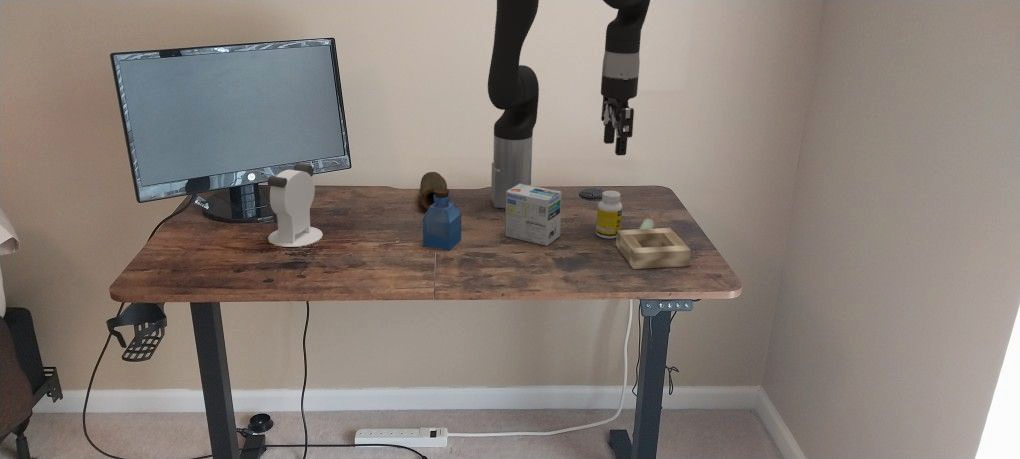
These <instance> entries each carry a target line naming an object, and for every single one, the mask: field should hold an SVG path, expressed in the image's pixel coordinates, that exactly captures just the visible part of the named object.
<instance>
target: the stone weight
mask: <svg viewBox="0 0 1020 459" xmlns="http://www.w3.org/2000/svg"><path fill="white" fill-rule="evenodd" d="M437 188H447V189H448V184H447V181H446V179H445V178H444V177H443V176H442V175H441V174H440V173H439V172H437V171H428V172H426V173H425V174H424V175H422V177H421V180H420V185H419V200H420V202H421V205H422V206H423V207H424V208H425V209H426V210H428V209H429V207H430V206H431V205H433V204H434V203H435V201H434V195H435V191H434V190H435V189H437Z"/></svg>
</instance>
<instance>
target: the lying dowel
mask: <svg viewBox="0 0 1020 459" xmlns="http://www.w3.org/2000/svg"><path fill="white" fill-rule="evenodd" d="M654 227H655V222H654V220H653V219H651V218H646V219H644V220H643V222H642V223H641V225H640V226H639V229H654Z"/></svg>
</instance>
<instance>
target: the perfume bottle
mask: <svg viewBox="0 0 1020 459" xmlns="http://www.w3.org/2000/svg"><path fill="white" fill-rule="evenodd" d="M434 191H435V195H434V201H435V203H434V204H433V205H431V206H430V207H429V209H426V210H427V211H426V212H425V214H424V216H423V217H422V244H423V245H422V247H427V248H432V249H433V248H434V249H439V250H440V249H441V250H446V251H451V250H452V249H453V248H454V247H455V246H456V245H457V244H458V243H459V242H461V241H462V213H461V211H460V209H459V208H458V206H457V205H456V204H455V202H451V194H449V193H450V189H449V188H448V187H447V188H437V189H435V190H434Z"/></svg>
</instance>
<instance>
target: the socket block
mask: <svg viewBox="0 0 1020 459" xmlns="http://www.w3.org/2000/svg"><path fill="white" fill-rule="evenodd" d="M615 239H616V241H615V246H616V247H617V249H618V250H619V252H620V253H621V255H622V256H623V257H624V258H625V260H626V262H628V265H630V267H631V268H632V269H633V270H638V269H639V270H640V269H642V270H643V269H657V268H660V269H661V268H675V267H677V268H678V267H690V264H691V257H692V249H691V248H690V247H689V246H688V245H687V244H686V243H685V242H684V241H683V239H682V238H680V236H679V235H678V234H677V233H676V232H675V231H674V230H673V229H672V228H671V227H661V228H660V227H659V228H653V229H620V230H617V237H616V238H615Z"/></svg>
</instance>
